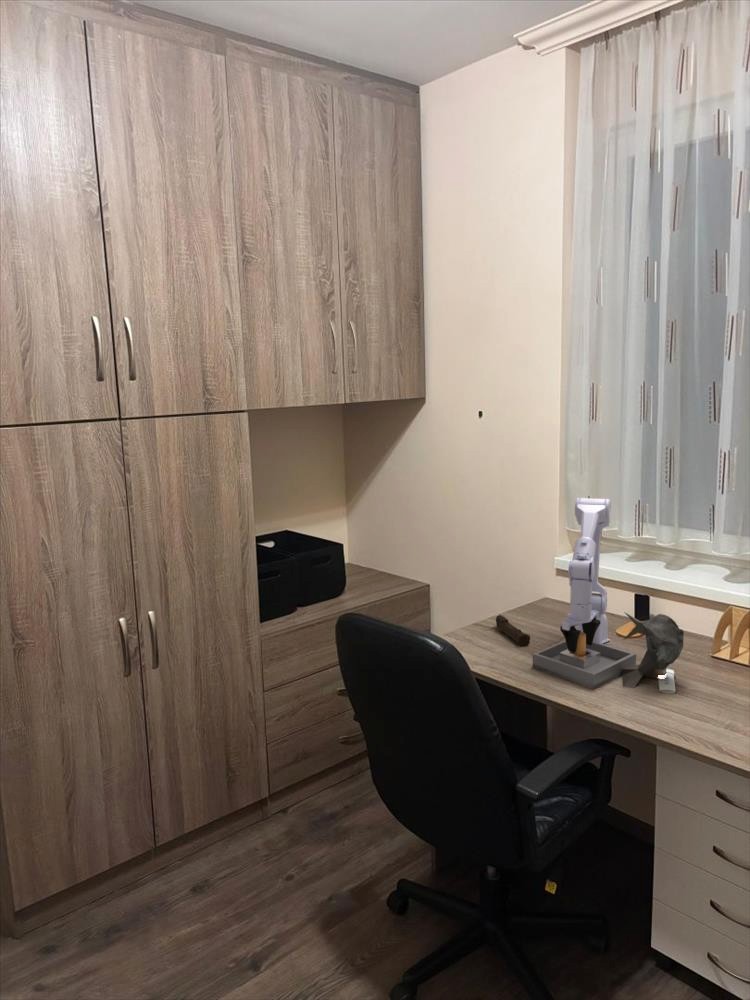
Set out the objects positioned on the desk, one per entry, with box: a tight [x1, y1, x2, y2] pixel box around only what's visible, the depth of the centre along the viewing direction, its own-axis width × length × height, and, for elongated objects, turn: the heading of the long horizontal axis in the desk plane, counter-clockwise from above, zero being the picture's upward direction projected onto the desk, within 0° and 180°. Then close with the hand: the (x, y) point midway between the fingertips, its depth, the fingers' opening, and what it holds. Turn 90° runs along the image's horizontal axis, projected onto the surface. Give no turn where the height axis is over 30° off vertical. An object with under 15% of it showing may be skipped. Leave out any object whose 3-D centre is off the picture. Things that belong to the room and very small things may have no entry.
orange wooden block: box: [574, 632, 586, 657], centre depth 212 cm, size 3×3×8 cm
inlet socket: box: [560, 648, 601, 669], centre depth 212 cm, size 8×8×2 cm
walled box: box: [532, 639, 637, 690], centre depth 210 cm, size 20×20×4 cm
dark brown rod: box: [495, 614, 531, 647], centre depth 236 cm, size 19×4×5 cm, turn 15°
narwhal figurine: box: [621, 611, 685, 689], centre depth 200 cm, size 14×15×18 cm
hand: (580, 647), depth 212 cm, fingers open, 7 cm apart
